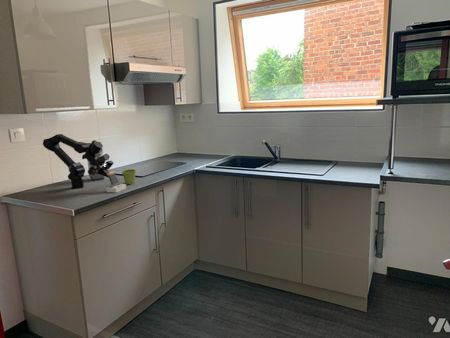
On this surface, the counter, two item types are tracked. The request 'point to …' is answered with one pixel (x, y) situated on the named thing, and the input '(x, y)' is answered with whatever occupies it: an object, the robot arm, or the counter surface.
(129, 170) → the plant pot
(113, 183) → the rocker lever
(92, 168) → the robot arm
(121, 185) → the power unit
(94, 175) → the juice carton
